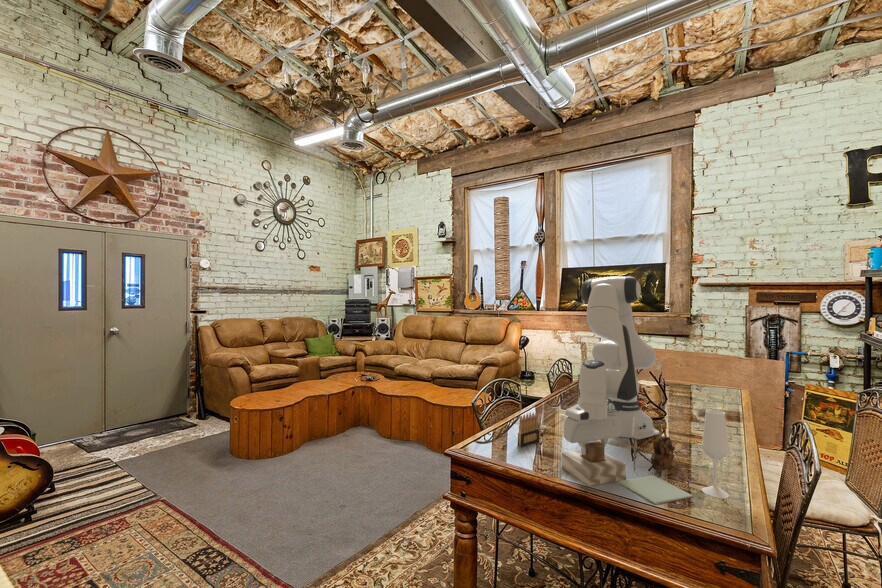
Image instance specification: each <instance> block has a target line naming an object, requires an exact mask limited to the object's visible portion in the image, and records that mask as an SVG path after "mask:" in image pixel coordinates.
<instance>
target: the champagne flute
mask: <svg viewBox="0 0 882 588" xmlns="http://www.w3.org/2000/svg"><path fill="white" fill-rule="evenodd" d="M704 416H705V417H704V424H703V425H704V426H703V433H702V434H703V435H702V440H701V441H702V443H701V448H702V450H703V452H704V453H705V454H706V456H708V457H709V458H710V459H711V460H712V485H710V486H705V487H703V488H701V491H702V492H703V493H704V494H706V496H707V495H708V496H710V497H713V498H717V499H727V498H729V497H730V495H729V493H727V492H726V491H725V490H723V489H722V488H720V487H719V486H718V481H719V480H718V474H719V473H718V470H719V468H718V461H721V460H722V459H724V458H725V457H727V455H728V454H729V453H730V449H729V448H730V447H729V438H728V428H727V420H726V412H725V411H722V410H718V409H706V410H705V415H704Z"/></svg>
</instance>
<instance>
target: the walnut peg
mask: <svg viewBox="0 0 882 588" xmlns="http://www.w3.org/2000/svg"><path fill="white" fill-rule="evenodd" d="M600 442H601V441H599V440H594V441H586V445H584V446H585V448H586V449H588V454H587V455H583V454H582V458H584V459H586V460H587V461H589V462H591V463H594V462H601V461H604V453H605V450H606V449H605V447H606V446H605V445H604V444H602V443H600Z"/></svg>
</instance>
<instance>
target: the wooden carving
mask: <svg viewBox="0 0 882 588" xmlns="http://www.w3.org/2000/svg"><path fill="white" fill-rule="evenodd" d="M652 449H653V453H652V454H651V455H650V462H651V464H652V465H651V466H652V470H659V471H661V470H662V469H663V468H665V469H668V468H669V467H670V466H671V465H672V464H673V462H674V459H675V454H674V451H675V450H676V446H673V442H672V440H671V438H670V436H665V435H663V436H662V435H658V436H656V438H655V439H654V440H653V443H652Z"/></svg>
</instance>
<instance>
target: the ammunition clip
mask: <svg viewBox="0 0 882 588" xmlns="http://www.w3.org/2000/svg"><path fill="white" fill-rule="evenodd" d="M531 413H532V414H531ZM538 416H539V415H538V412H537V411H535V413H534V411H533V412H530V413H529V414H528V413H526V415H525V414H523V416H522V414H521V415H520V416H519V425H518V433H517V447H519V448H524V447H528V446H530V445H531V446H532V445H533V444H537V443H540V429H539V419H538V418H539V417H538Z"/></svg>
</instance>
